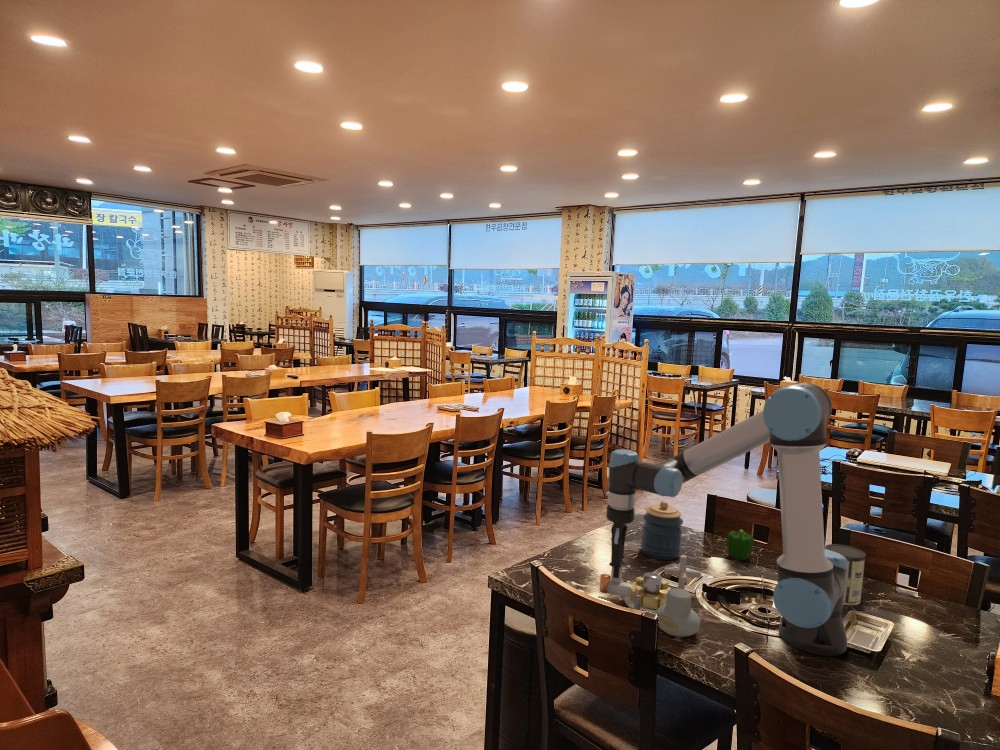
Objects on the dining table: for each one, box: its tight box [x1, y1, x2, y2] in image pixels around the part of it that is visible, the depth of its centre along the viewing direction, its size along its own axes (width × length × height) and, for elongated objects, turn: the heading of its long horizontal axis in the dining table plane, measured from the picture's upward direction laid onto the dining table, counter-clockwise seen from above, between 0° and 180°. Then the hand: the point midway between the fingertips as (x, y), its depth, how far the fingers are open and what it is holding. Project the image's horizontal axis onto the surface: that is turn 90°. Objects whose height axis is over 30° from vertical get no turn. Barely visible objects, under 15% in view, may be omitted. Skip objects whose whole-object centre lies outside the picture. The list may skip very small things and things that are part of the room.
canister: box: [640, 500, 684, 561], centre depth 204 cm, size 13×13×18 cm
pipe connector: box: [663, 554, 702, 590], centre depth 177 cm, size 10×10×10 cm
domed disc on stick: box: [599, 573, 673, 609], centre depth 169 cm, size 20×11×4 cm, turn 74°
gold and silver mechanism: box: [624, 571, 663, 613], centre depth 165 cm, size 14×21×8 cm, turn 124°
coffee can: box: [824, 543, 867, 606], centre depth 177 cm, size 10×10×14 cm
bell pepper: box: [726, 529, 754, 561], centre depth 204 cm, size 8×8×10 cm
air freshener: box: [655, 587, 701, 638], centre depth 154 cm, size 11×8×10 cm
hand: (615, 587), depth 172 cm, fingers closed
